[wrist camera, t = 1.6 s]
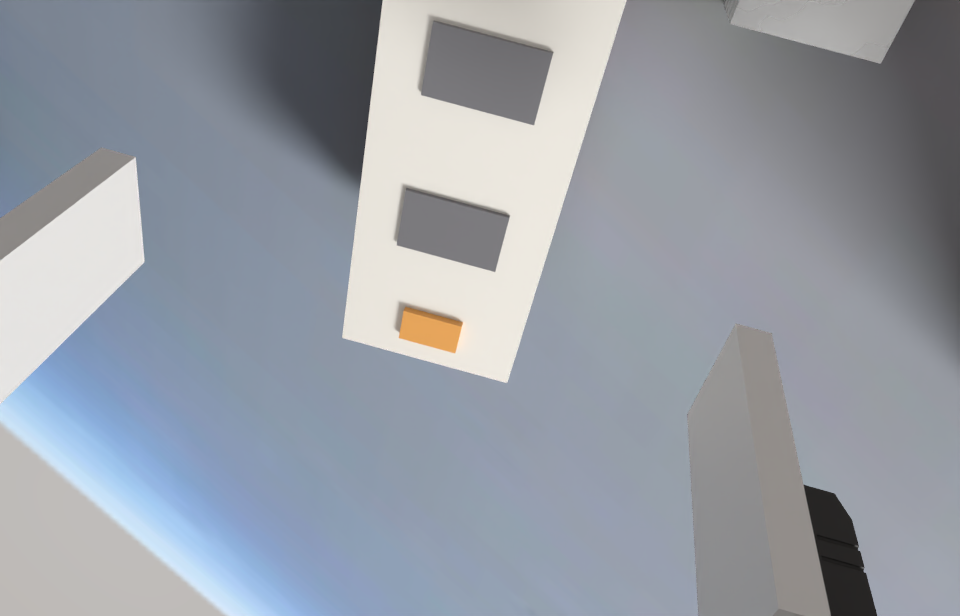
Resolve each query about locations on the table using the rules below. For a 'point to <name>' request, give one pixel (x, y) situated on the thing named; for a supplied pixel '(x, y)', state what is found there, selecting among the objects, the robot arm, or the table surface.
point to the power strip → (469, 170)
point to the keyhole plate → (826, 22)
